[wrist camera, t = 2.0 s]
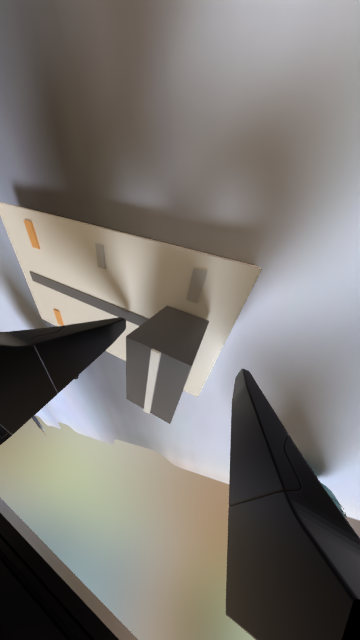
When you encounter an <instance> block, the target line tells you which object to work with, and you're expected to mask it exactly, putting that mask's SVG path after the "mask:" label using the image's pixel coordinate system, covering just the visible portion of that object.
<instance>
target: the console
mask: <svg viewBox="0 0 360 640" xmlns="http://www.w3.org/2000/svg"><path fill="white" fill-rule="evenodd" d="M0 216H1V218H2V221H3V223H4V226H5V228H6V231H7V233H8V236H9V238H10V241H11V243H12V246H13V248H14V251H15V253H16V256H17V258H18V261H19V263H20V266H21V268H22V271H23V273H24V276H25V278H26V281H27V283H28V286H29V288H30V291H31V293H32V296H33V298H34V301H35V303H36V306H37V308H38V311H39V313H40V316H41V318H42V319H44V320H46V321H48V322H49V323H51V324H53V325H55V326H63V325H70V324H77V323H84V322H91V321H98V320H104V319H111V318H118V317H122V318H124V319H126V329H125V331H124V332H123V333H122V334H121V335H120V336H119V337H118V339H117V340H116V341H115V342H114V343H113V344H112V345H111V346H110V347H109V348H108V349H106V350H105V351H107V352H109V353H111V354H113V355H115V356H117V357H119V358H121V359H123V360H125V361H126V336H127V335H128V334H130V333H131V332H132V331H134V330H135V329H136V328H138V327H139V326H140V325H142V324H143V323H144V322H146V321H147V320H148V319H150V318H151V317H152V316H154V315H155V314H156V313H158V312H159V311H160V310H162V309H163V308H164V307H166V306H170V307H173V308H176V309H178V310H181V311H184V312H187V313H189V314H192V315H195V316H198V317H200V318H203V319H206V320H209V324H208V326H207V329H206V332H205V334H204V337H203V340H202V342H201V345H200V348H199V350H198V353H197V355H196V358H195V361H194V363H193V366H192V369H191V371H190V374H189V376H188V379H187V382H186V384H185V387H184V389H183V390H184V391H186V392H188V393H190V394H192V395H194V396H196V397H198V396H199V394H200V392H201V390H202V388H203V386H204V384H205V382H206V380H207V378H208V376H209V374H210V372H211V370H212V368H213V366H214V364H215V362H216V360H217V358H218V356H219V354H220V352H221V350H222V348H223V346H224V344H225V342H226V340H227V338H228V336H229V334H230V332H231V330H232V328H233V326H234V324H235V322H236V320H237V318H238V316H239V314H240V312H241V310H242V308H243V306H244V304H245V302H246V300H247V298H248V296H249V294H250V292H251V290H252V288H253V286H254V284H255V282H256V280H257V278H258V276H259V274H260V272H261V270H262V269H261V268H260V267H258V266H256V265H252V264H248V263H244V262H240V261H236V260H232V259H228V258H224V257H220V256H216V255H212V254H208V253H204V252H200V251H196V250H192V249H188V248H184V247H180V246H176V245H172V244H168V243H164V242H160V241H156V240H152V239H148V238H144V237H140V236H136V235H132V234H128V233H124V232H120V231H116V230H112V229H108V228H104V227H100V226H96V225H92V224H88V223H84V222H80V221H76V220H72V219H68V218H64V217H60V216H56V215H52V214H48V213H44V212H40V211H36V210H32V209H28V208H24V207H20V206H15V205H11V204H6V203H1V202H0Z"/></svg>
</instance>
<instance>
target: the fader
mask: <svg viewBox="0 0 360 640" xmlns="http://www.w3.org/2000/svg"><path fill="white" fill-rule="evenodd" d="M208 324H209V320H206V319H203V318H200V317H198V316H195V315H192V314H189V313H187V312H184V311H181V310H178V309H176V308H173V307H170V306H166V307H164V308H163V309H162V310H160V311H159V312H158V313H156V314H155V315H154V316H152V317H151V318H150V319H148V320H147V321H146V322H144V323H143V324H142V325H140V326H139V327H138V328H136V329H135V330H134V331H132V332H131V333H130V334H128V335H127V336H126V388H127V399H128V400H130V401H131V402H133V403H135V404H136V405H138V406H140V407H142V408H143V409H144V411H145V412H146V413H148V414H150V413H152V414H154V415H155V416H157V417H159V418H161V419H162V420H164V421H166V422H168V423H169V424H170V423H171V420H172V418H173V415H174V413H175V410H176V407H177V405H178V402H179V400H180V397H181V394H182V392H183V389H184V387H185V384H186V382H187V379H188V376H189V374H190V371H191V369H192V366H193V363H194V361H195V358H196V355H197V353H198V350H199V348H200V345H201V342H202V340H203V337H204V334H205V332H206V329H207V326H208Z"/></svg>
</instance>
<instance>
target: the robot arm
mask: <svg viewBox="0 0 360 640" xmlns="http://www.w3.org/2000/svg"><path fill="white" fill-rule="evenodd" d="M125 329H126V319H124V318H122V317H118V318H111V319H104V320H98V321H91V322H84V323H77V324H70V325H63V326H56V327H49V328H40V329H31V330H21V331H11V332H0V445H1V444H2V443H3V442H5V441H6V440H7V439H8V438H9V437H10V436H12V435H13V434H14V433H15V432H16V431H17V430H18V429H19V428H20V427H22V426H23V424H25V423H26V422H27V421H28V420H29V419H30V418H32V417H33V416H34V415H35V414H36V413H37V412H38V411H39V410H40V409H42V408H43V407H44V406H45V405H46V404H47V403H48V402H49V401H50V400H51V399H53V398H54V397H55V396H56V395H57V394H58V393H59V392H60V391H61V390H62V389H63V388H65V387H66V386H67V385H68V384H69V383H70V382H71V381H72V380H73V379H77V378H78V375H79V374H80V373H81V372H82V371H83V370H84V369H86V368H87V367H88V366H89V365H90V364H91V363H92V362H93V361H94V360H95V359H97V358H98V357H99V356H100V355H101V354H102V353H103V352H104V351H105V350H106V349H108V348H109V347H110V346H111V345H112V344H113V343H114V342H115V341H116V340H117V339H118V337H119V336H120V335H121V334H122V333H123V332H124V331H125ZM229 486H230V487H229V506H230V507H229V515H228V550H227V582H226V615H227V616H228V617H229V618H231V619H232V620H233V621H234V622H235V623H237V624H238V625H239V626H240V627H241V628H243V629H244V630H245V631H246V632H247V633H248V634H250V635H251V636H252V637H253V638H254V639H256V640H360V538H359V537H358V535H357V534H356V533H355V531H354V530H353V528H352V527H351V526H350V524H349V523H348V521H347V520H346V518H345V517H344V516H343V514H342V513H341V511H340V510H339V508H338V507H337V506H336V504H335V503H334V501H333V500H332V498H331V497H330V496H329V494H328V493H327V491H326V490H325V488H324V487H323V486H322V484H321V483H320V481H319V480H318V478H317V477H316V475H315V474H314V473H313V471H312V470H311V468H310V467H309V465H308V464H307V462H306V461H305V459H304V458H303V456H302V455H301V453H300V452H299V450H298V448H297V447H296V445H295V444H294V442H293V441H292V439H291V437H290V436H289V435H288V433H287V431H286V429H285V428H284V426H283V425H282V423H281V421H280V420H279V418H278V417H277V415H276V413H275V412H274V410H273V409H272V407H271V405H270V404H269V402H268V401H267V399H266V397H265V396H264V394H263V393H262V391H261V389H260V388H259V386H258V385H257V383H256V381H255V380H254V378H253V377H252V375H251V374H250V372H249V371H247V370H245V369H241V370H240V372H239V373H238V375H237V376H236V379H235V385H234V392H233V399H232V417H231V451H230V485H229ZM0 640H138V639H137V638H136V637H135V636H134V635H133V634H132V633H131V632H130V631H129V630H128V629H127V628H126V627H125V626H124V625H123V624H122V623H121V622H120V621H119V620H118V619H117V618H116V617H115V616H114V615H113V614H112V612H111V611H109V609H108V608H107V607H106V606H105V605H104V604H103V603H102V602H101V601H100V600H99V599H98V598H97V597H96V596H95V595H94V594H93V593H92V592H91V591H90V590H89V589H88V588H87V587H86V586H85V585H84V584H83V583H82V582H81V581H80V579H79V578H78V577H76V576H75V574H73V572H72V571H71V570H70V569H69V568H68V567H67V566H66V565H65V564H64V563H63V562H62V561H61V560H60V559H59V558H58V557H57V556H56V555H55V554H54V553H53V552H52V551H51V550H50V549H49V548H48V547H47V545H46V544H44V543H43V541H42V540H41V539H40V538H39V537H38V536H37V535H36V534H35V533H34V532H33V531H32V530H31V529H30V528H29V527H28V526H27V525H26V524H25V523H24V522H23V521H22V520H21V519H20V518H19V517H18V516H17V515H16V514H15V513H14V511H13V510H12V509H11V508H10V507H9V506H8V505H7V504H6V503H5V502H4V501H3V500H2V499H1V498H0Z"/></svg>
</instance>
